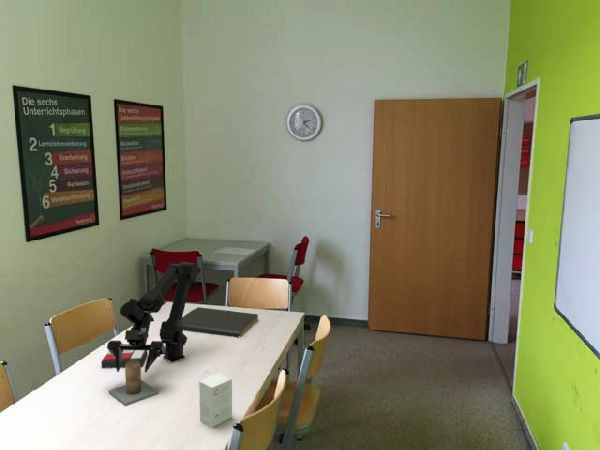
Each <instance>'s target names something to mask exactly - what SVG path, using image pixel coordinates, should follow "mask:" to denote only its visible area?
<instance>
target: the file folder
mask: <svg viewBox="0 0 600 450" xmlns="http://www.w3.org/2000/svg"><path fill="white" fill-rule="evenodd" d="M258 316H259V315H258V314H257V313H250V312H249V313H248V312H241V311H240V312H239V311H233V310H226V309H215V308H207V307H199V306H197V307H196V308H195V309H192V310H190V311H189V312H187V314H185V315H182V319H181V322H182V325H183V331H189V332H197V333H204V334H211V335H218V336H225V335H226V337H232V336H234V338H240V337H242V336H243V335H244V334H245V333H246V332H247V331H248V330H250V328H252V325H253V324H254V323H255V322H256V321H257V320H258V321H259V317H258ZM258 321H257V322H258ZM257 322H256V323H257ZM256 323H255V324H256ZM255 324H254V325H255ZM254 325H253V326H254ZM247 329H248V330H247ZM246 330H247V331H246ZM245 331H246V332H245ZM244 332H245V333H244ZM243 333H244V334H243ZM242 334H243V335H242ZM239 336H240V337H239Z"/></svg>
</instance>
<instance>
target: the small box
mask: <svg viewBox="0 0 600 450" xmlns="http://www.w3.org/2000/svg"><path fill="white" fill-rule="evenodd" d="M198 382H199V384H198V385H199V387H198V389H199V391H198V392H199V420H200V421H201V422H202V423H203V424H205V425H207V426H208V427H211V428H212V429H213V428H215V427H216V426H218V425H221V424H222V423H224V422H226V421H227V420H229V419H232V418H233V378H231V377H230V376H227V375H225V374H223V373H221V372H218V373H215V374H213V375H211V376H209V377H206V378H204V379H202V380H200V381H199V380H198Z"/></svg>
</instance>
